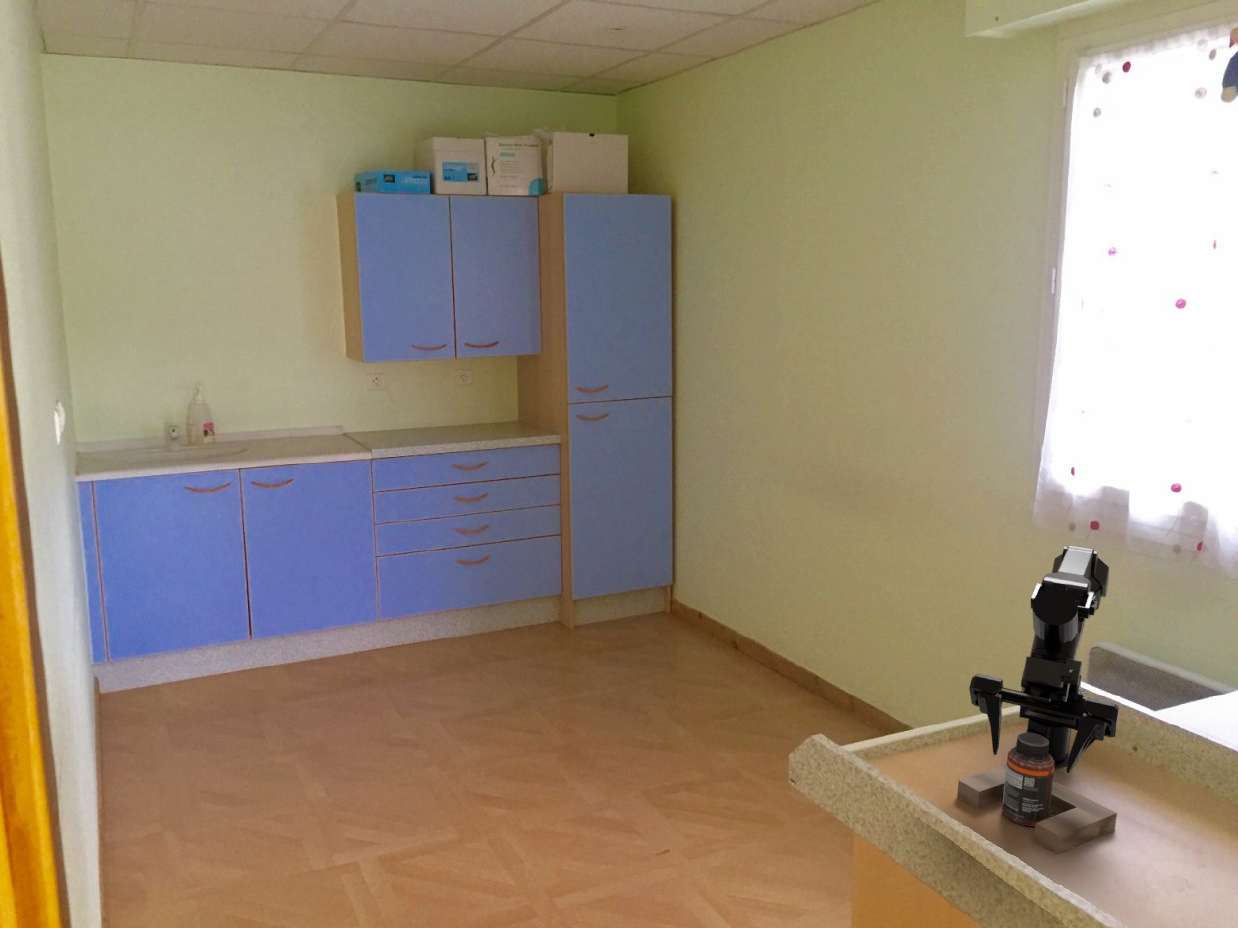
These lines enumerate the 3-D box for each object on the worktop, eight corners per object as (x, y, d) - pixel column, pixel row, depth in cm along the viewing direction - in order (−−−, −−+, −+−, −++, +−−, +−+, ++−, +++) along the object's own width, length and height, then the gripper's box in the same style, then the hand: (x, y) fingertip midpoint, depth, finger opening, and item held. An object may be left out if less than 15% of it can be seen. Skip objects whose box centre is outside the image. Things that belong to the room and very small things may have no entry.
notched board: (1013, 777, 151) (1015, 761, 150) (1114, 830, 138) (1117, 812, 137) (957, 796, 145) (958, 780, 144) (1057, 853, 131) (1059, 835, 131)
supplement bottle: (1033, 804, 144) (1042, 728, 141) (1057, 827, 138) (1067, 748, 136) (992, 805, 143) (1001, 729, 141) (1015, 829, 137) (1024, 749, 135)
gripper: (979, 618, 144) (953, 721, 137) (1127, 646, 135) (1108, 758, 128) (984, 654, 152) (960, 753, 145) (1124, 683, 143) (1106, 790, 136)
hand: (1030, 762), depth 138 cm, fingers open, 9 cm apart
